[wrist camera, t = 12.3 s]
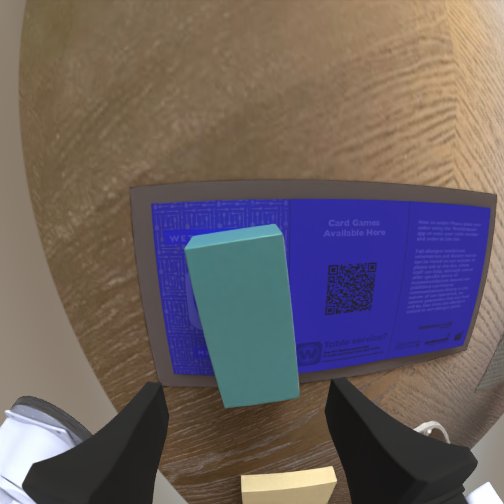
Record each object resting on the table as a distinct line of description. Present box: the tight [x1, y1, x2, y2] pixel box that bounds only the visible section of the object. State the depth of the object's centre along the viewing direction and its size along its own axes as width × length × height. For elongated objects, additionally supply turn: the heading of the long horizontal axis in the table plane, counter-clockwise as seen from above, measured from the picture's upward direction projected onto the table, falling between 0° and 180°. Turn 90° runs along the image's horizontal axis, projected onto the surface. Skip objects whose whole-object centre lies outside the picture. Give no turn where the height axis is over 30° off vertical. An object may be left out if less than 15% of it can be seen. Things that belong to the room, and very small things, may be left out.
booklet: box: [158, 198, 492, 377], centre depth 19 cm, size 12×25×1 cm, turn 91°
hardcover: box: [241, 466, 337, 504], centre depth 25 cm, size 10×13×2 cm
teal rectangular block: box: [184, 224, 300, 408], centre depth 17 cm, size 5×11×3 cm, turn 8°
